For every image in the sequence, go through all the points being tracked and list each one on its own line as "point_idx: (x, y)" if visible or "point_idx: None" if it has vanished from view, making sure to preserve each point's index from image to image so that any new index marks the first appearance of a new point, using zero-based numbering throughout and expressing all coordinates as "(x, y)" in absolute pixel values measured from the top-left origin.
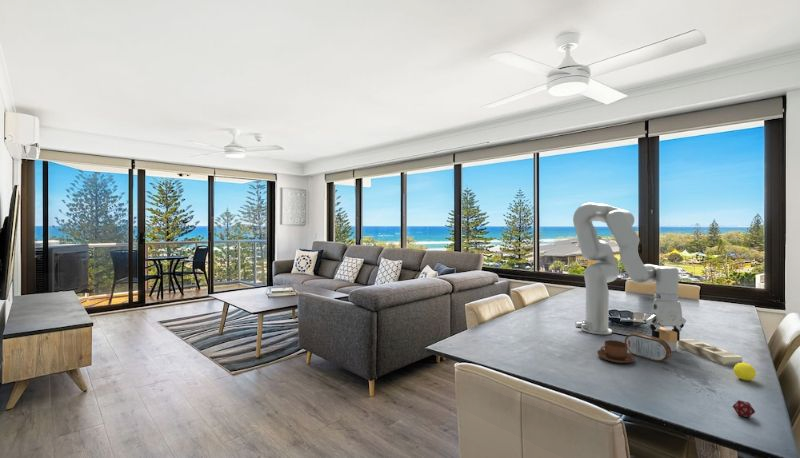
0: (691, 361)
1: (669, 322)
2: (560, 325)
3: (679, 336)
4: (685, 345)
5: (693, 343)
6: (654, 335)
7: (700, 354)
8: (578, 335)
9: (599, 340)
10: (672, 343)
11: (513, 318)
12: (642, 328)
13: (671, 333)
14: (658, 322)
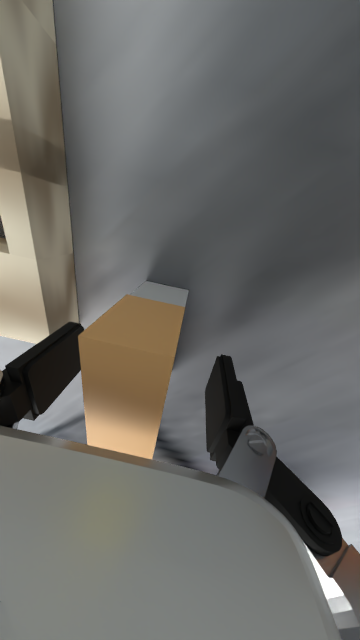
0: (255, 42)
1: (86, 564)
2: None
3: (48, 336)
4: (58, 289)
5: (2, 259)
6: (244, 399)
7: (59, 156)
8: (349, 501)
9: (344, 462)
10: (160, 302)
11: None
12: None
13: (158, 345)
14: (329, 617)
